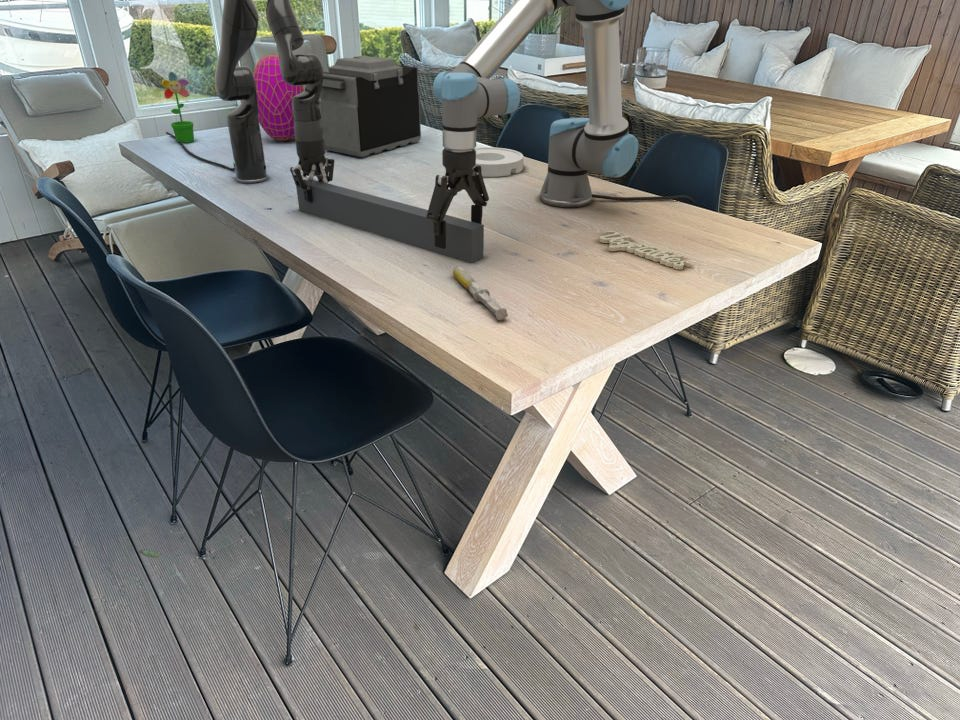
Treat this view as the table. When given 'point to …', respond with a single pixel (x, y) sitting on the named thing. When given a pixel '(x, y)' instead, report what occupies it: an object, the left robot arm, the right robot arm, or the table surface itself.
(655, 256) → the decorative sign
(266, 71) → the decorative egg
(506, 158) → the ashtray
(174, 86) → the potted flower
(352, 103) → the grey tool box
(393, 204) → the bar
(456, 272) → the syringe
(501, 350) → the table surface
